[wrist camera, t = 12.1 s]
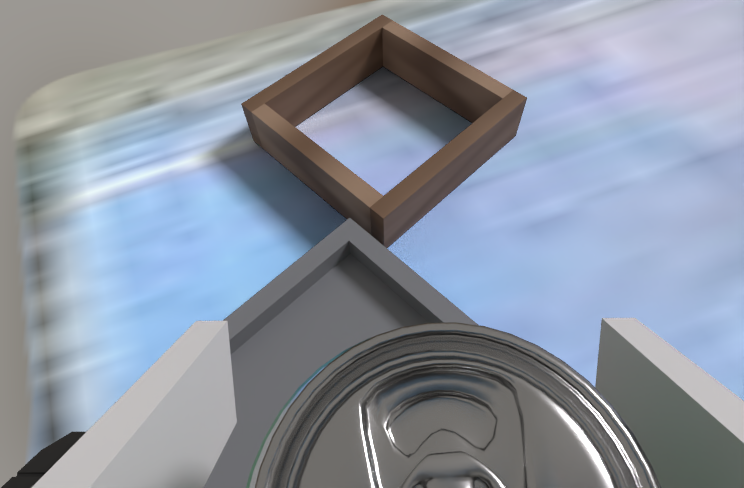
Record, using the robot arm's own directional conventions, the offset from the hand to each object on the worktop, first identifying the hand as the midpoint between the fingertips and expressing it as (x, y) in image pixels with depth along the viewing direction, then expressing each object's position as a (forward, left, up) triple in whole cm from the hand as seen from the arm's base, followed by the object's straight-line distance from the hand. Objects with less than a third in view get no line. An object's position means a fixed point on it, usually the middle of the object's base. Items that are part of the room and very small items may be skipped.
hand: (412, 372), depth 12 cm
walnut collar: (+11, -10, -7) cm, 16 cm away
